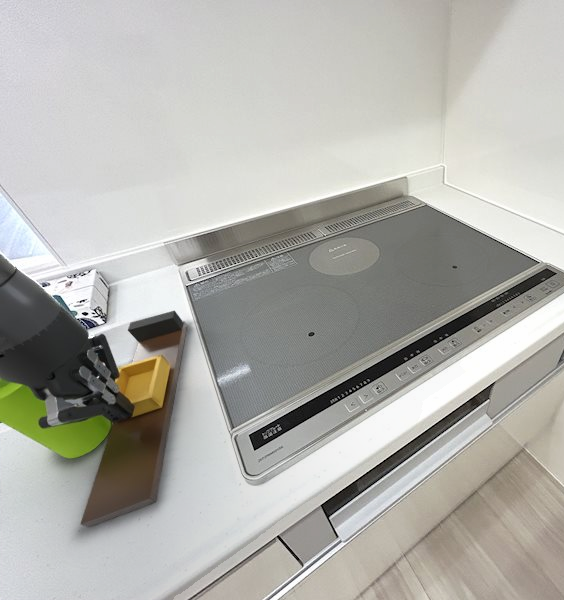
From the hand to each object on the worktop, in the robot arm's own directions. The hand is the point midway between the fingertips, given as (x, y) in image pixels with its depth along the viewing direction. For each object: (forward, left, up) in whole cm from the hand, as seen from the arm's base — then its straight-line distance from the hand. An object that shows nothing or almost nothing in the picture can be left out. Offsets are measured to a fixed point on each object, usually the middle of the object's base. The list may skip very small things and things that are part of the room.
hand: (125, 415), depth 43 cm
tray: (+5, +2, -2) cm, 6 cm away
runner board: (+4, +2, -4) cm, 6 cm away
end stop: (+16, +9, -2) cm, 19 cm away
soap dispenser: (-2, +8, -4) cm, 9 cm away
